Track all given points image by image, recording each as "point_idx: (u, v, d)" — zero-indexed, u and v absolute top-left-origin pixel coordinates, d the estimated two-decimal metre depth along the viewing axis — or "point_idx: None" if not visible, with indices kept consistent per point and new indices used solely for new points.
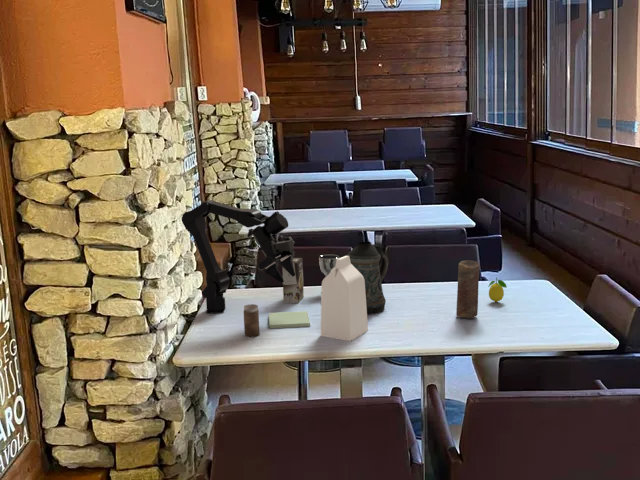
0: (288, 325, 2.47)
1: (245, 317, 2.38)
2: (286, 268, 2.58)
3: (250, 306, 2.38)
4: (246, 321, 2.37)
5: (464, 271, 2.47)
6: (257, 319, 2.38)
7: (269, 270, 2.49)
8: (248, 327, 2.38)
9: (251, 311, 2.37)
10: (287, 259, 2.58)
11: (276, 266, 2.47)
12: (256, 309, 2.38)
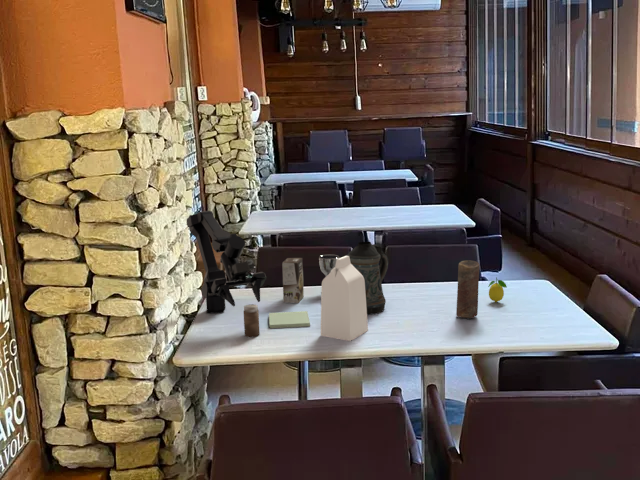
0: (288, 325, 2.47)
1: (245, 317, 2.38)
2: (255, 293, 2.46)
3: (250, 306, 2.38)
4: (246, 321, 2.37)
5: (464, 271, 2.47)
6: (257, 319, 2.38)
7: (223, 293, 2.42)
8: (248, 327, 2.38)
9: (251, 311, 2.37)
10: (255, 284, 2.46)
11: (226, 289, 2.40)
12: (256, 309, 2.38)
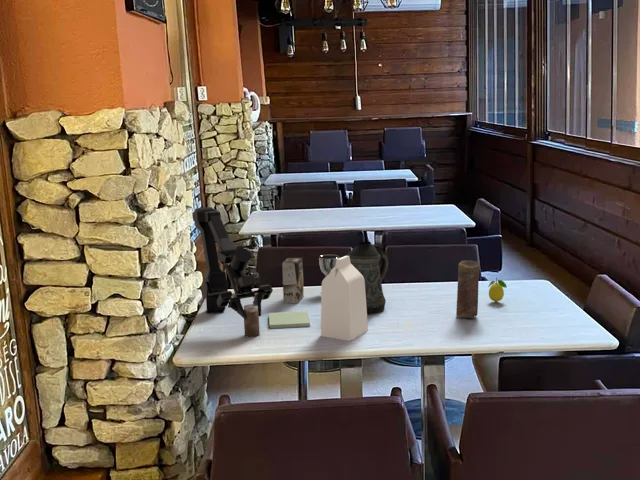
0: (288, 325, 2.47)
1: None
2: None
3: (250, 306, 2.38)
4: (246, 321, 2.37)
5: (464, 271, 2.47)
6: (257, 319, 2.38)
7: (234, 306, 2.40)
8: (248, 327, 2.38)
9: (251, 311, 2.37)
10: (256, 298, 2.42)
11: (237, 301, 2.37)
12: (256, 309, 2.38)
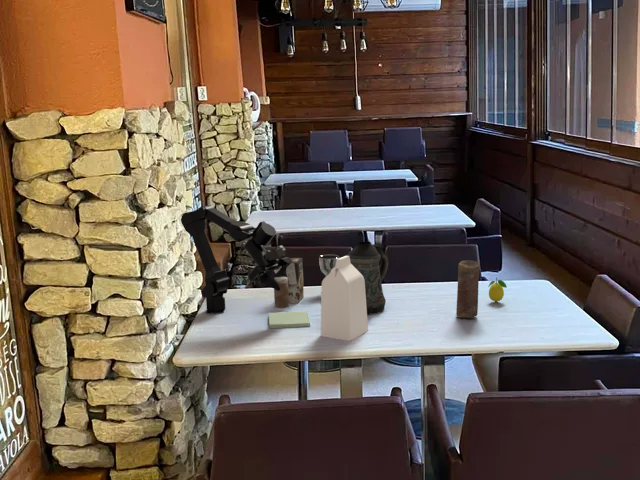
0: (288, 325, 2.47)
1: None
2: None
3: (280, 278, 2.47)
4: (280, 292, 2.46)
5: (464, 271, 2.47)
6: (288, 290, 2.48)
7: (264, 279, 2.46)
8: (281, 298, 2.46)
9: (284, 282, 2.45)
10: (280, 270, 2.51)
11: (270, 274, 2.44)
12: (287, 280, 2.47)
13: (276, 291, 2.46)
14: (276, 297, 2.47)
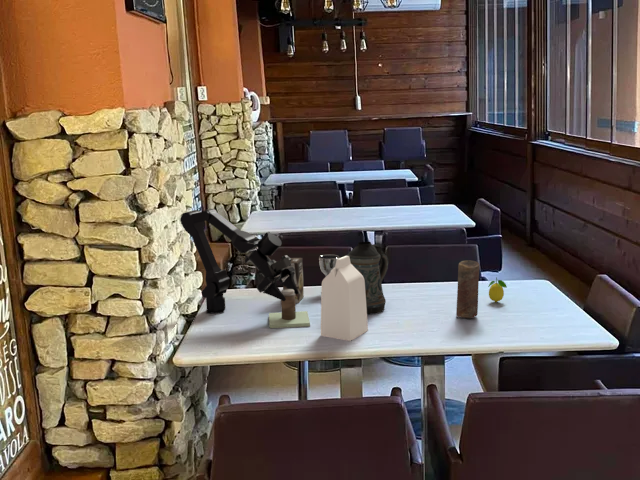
0: (288, 325, 2.47)
1: (286, 301, 2.50)
2: (289, 287, 2.57)
3: (287, 291, 2.52)
4: (287, 304, 2.50)
5: (464, 271, 2.47)
6: None
7: (269, 290, 2.48)
8: (289, 310, 2.51)
9: (292, 294, 2.51)
10: (288, 278, 2.57)
11: (275, 285, 2.47)
12: None
13: (284, 303, 2.51)
14: (284, 309, 2.51)
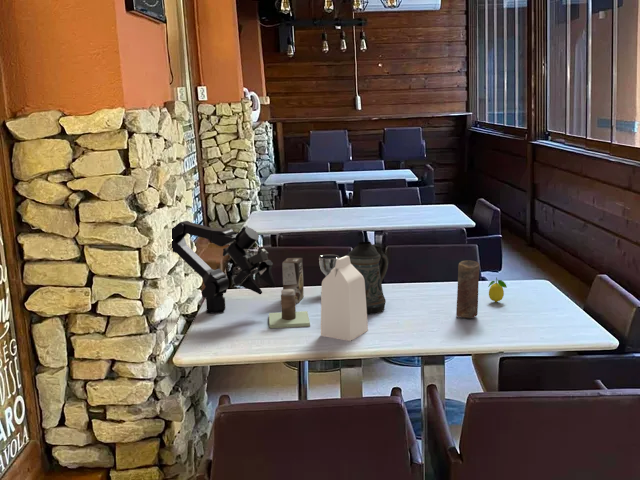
0: (288, 325, 2.47)
1: (286, 301, 2.50)
2: (266, 280, 2.61)
3: (288, 291, 2.52)
4: (288, 304, 2.50)
5: (464, 271, 2.47)
6: None
7: (246, 284, 2.52)
8: (289, 310, 2.51)
9: (292, 294, 2.51)
10: (265, 271, 2.61)
11: (252, 278, 2.51)
12: None
13: (284, 303, 2.51)
14: (284, 309, 2.51)
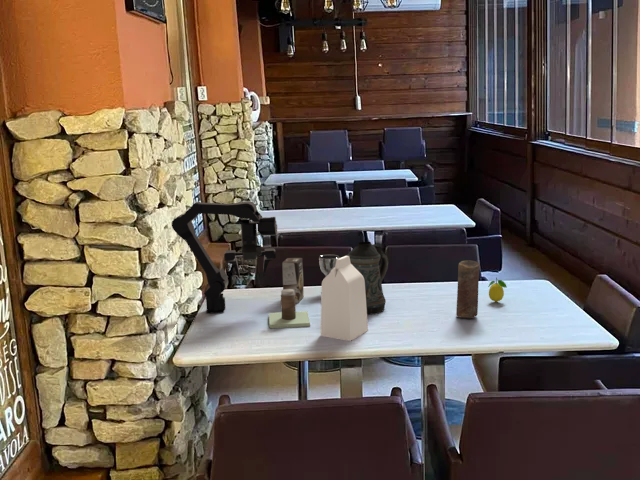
0: (288, 325, 2.47)
1: (286, 301, 2.50)
2: None
3: (287, 291, 2.52)
4: (287, 304, 2.50)
5: (464, 271, 2.47)
6: None
7: None
8: (289, 310, 2.51)
9: (292, 294, 2.51)
10: None
11: (233, 264, 2.62)
12: None
13: (284, 303, 2.51)
14: (284, 309, 2.51)
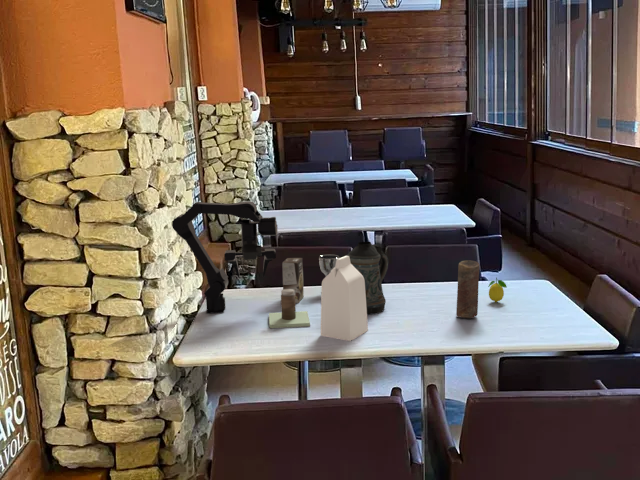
0: (288, 325, 2.47)
1: (286, 301, 2.50)
2: None
3: (287, 291, 2.52)
4: (288, 304, 2.50)
5: (464, 271, 2.47)
6: None
7: None
8: (289, 310, 2.51)
9: (292, 294, 2.51)
10: (264, 260, 2.64)
11: (233, 263, 2.62)
12: None
13: (284, 303, 2.51)
14: (284, 309, 2.51)
